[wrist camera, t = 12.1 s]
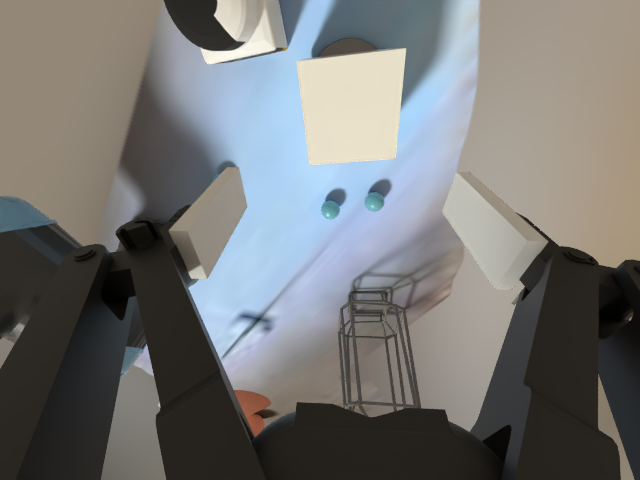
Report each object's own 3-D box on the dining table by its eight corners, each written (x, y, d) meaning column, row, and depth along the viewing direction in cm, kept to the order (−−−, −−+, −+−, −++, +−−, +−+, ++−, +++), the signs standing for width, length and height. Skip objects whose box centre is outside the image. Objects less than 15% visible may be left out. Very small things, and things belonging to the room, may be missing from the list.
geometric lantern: (407, 282, 50) (491, 559, 23) (395, 324, 60) (443, 555, 33) (332, 280, 51) (327, 544, 24) (332, 322, 61) (327, 544, 34)
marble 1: (323, 208, 36) (342, 212, 37) (323, 194, 38) (341, 198, 39) (318, 221, 39) (336, 224, 39) (319, 207, 41) (336, 211, 41)
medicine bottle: (231, 62, 29) (179, 68, 19) (203, -25, 24) (119, -71, 15) (288, 49, 28) (263, 49, 18) (271, -43, 23) (226, -106, 14)
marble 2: (365, 199, 35) (360, 193, 38) (370, 217, 37) (364, 209, 40) (385, 192, 35) (378, 186, 38) (388, 210, 37) (382, 203, 39)
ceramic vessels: (213, 388, 94) (190, 451, 79) (266, 391, 93) (252, 455, 78) (235, 417, 116) (220, 471, 101) (278, 420, 114) (270, 475, 99)
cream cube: (315, 140, 33) (309, 165, 26) (306, 58, 27) (296, 61, 20) (382, 134, 32) (395, 158, 25) (387, 48, 26) (406, 48, 19)
